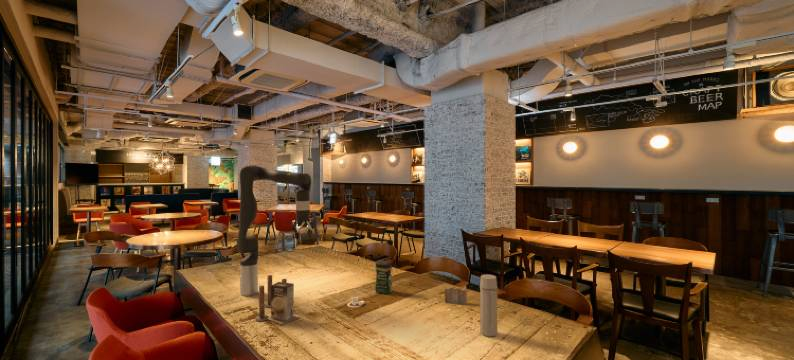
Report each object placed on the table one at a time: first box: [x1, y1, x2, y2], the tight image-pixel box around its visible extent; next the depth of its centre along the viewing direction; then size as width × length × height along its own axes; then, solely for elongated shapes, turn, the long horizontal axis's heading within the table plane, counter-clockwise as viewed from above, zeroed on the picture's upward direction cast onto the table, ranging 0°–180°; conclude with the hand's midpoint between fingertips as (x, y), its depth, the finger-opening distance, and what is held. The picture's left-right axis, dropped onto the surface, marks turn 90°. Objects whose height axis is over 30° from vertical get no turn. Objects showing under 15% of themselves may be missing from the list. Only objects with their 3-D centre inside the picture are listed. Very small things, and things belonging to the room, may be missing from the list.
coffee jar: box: [374, 259, 393, 295], centre depth 209 cm, size 10×8×19 cm
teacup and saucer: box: [347, 296, 365, 308], centre depth 190 cm, size 9×8×4 cm
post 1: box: [254, 285, 270, 323], centre depth 172 cm, size 6×6×16 cm
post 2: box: [264, 274, 273, 309], centre depth 189 cm, size 6×6×16 cm
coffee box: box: [270, 281, 295, 321], centre depth 172 cm, size 9×6×16 cm
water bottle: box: [479, 274, 500, 338], centre depth 153 cm, size 9×8×25 cm
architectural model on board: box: [444, 285, 468, 305], centre depth 192 cm, size 11×3×10 cm, turn 74°
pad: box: [266, 314, 300, 326], centre depth 172 cm, size 12×10×1 cm
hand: (303, 238), depth 198 cm, fingers open, 8 cm apart
